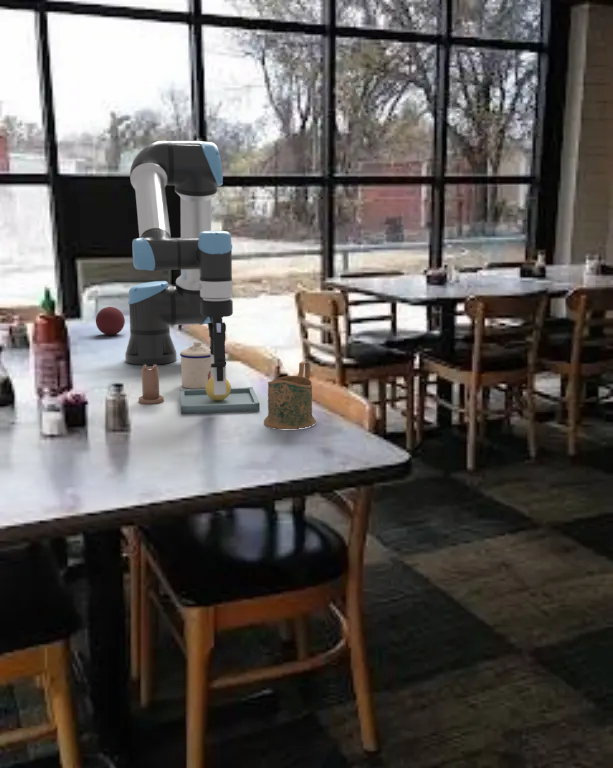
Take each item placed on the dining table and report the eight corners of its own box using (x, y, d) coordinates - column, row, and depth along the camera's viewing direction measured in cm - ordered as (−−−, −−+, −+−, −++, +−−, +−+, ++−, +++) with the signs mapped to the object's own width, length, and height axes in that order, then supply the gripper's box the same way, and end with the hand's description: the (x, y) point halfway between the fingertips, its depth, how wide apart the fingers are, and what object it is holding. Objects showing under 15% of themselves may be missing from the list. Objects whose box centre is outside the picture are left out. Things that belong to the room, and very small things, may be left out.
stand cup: (139, 398, 195) (137, 363, 193) (163, 397, 196) (162, 362, 194) (138, 404, 190) (136, 368, 188) (163, 403, 191) (162, 367, 189)
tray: (180, 396, 197) (180, 389, 197) (252, 394, 200) (252, 387, 199) (181, 414, 182) (181, 406, 181) (259, 410, 185) (259, 403, 184)
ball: (205, 397, 193) (204, 373, 192) (230, 396, 194) (229, 372, 193) (206, 404, 187) (205, 379, 186) (231, 403, 188) (231, 378, 187)
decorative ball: (121, 337, 277) (120, 309, 275) (93, 337, 278) (91, 308, 275) (128, 332, 287) (126, 305, 285) (100, 332, 287) (99, 304, 285)
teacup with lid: (215, 389, 205) (214, 344, 202) (180, 389, 204) (178, 345, 201) (216, 378, 217) (215, 336, 214) (182, 379, 216) (180, 337, 213)
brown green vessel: (331, 411, 184) (331, 361, 182) (306, 432, 168) (306, 377, 165) (284, 407, 188) (284, 357, 185) (255, 427, 172) (255, 373, 169)
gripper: (198, 292, 196) (200, 376, 201) (202, 306, 172) (204, 401, 177) (228, 292, 197) (230, 375, 202) (236, 305, 174) (238, 399, 178)
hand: (218, 387), depth 190 cm, fingers open, 13 cm apart
